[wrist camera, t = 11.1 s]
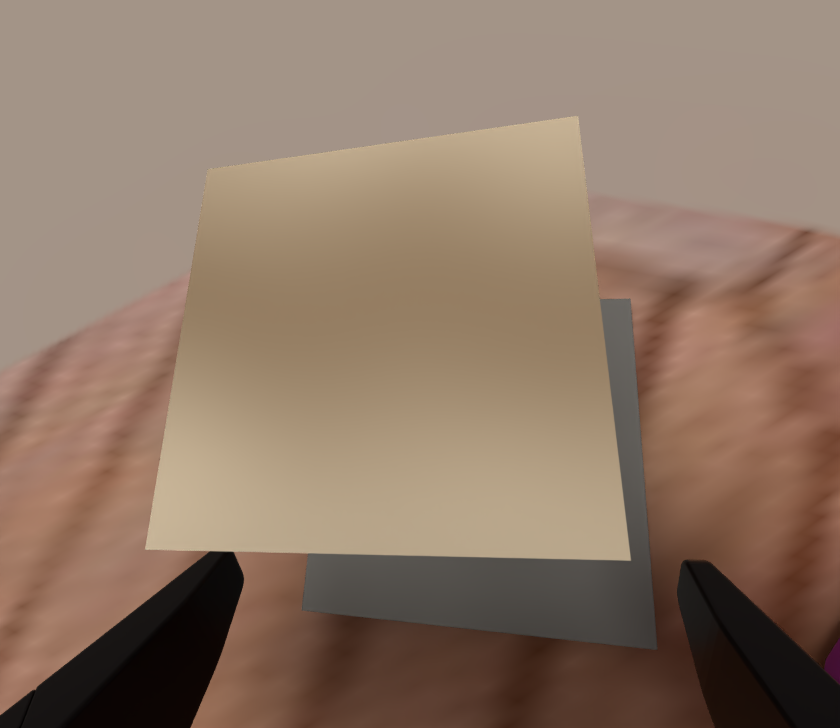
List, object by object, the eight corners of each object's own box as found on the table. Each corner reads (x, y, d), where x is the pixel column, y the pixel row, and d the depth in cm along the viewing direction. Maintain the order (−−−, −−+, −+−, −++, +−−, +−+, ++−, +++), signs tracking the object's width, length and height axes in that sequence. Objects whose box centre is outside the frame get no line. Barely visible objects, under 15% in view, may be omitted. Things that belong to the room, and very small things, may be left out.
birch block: (545, 522, 16) (630, 559, 4) (406, 521, 17) (145, 549, 5) (536, 384, 18) (577, 115, 6) (407, 389, 19) (207, 168, 7)
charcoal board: (626, 307, 19) (630, 298, 18) (650, 643, 15) (657, 649, 15) (343, 313, 21) (336, 306, 21) (310, 606, 18) (301, 610, 17)
